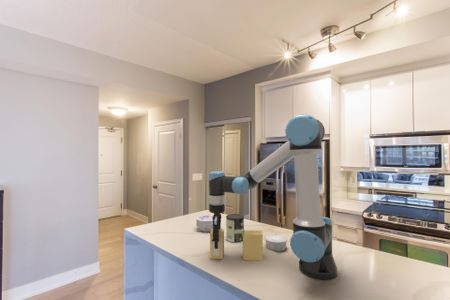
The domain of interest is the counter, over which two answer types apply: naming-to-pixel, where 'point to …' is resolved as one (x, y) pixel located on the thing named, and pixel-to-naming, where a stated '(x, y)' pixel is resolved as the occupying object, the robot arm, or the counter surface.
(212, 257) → the stub
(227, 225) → the coffee can
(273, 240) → the ramekin
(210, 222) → the paper bowls
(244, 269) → the counter surface
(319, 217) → the robot arm
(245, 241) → the tall yellow box
